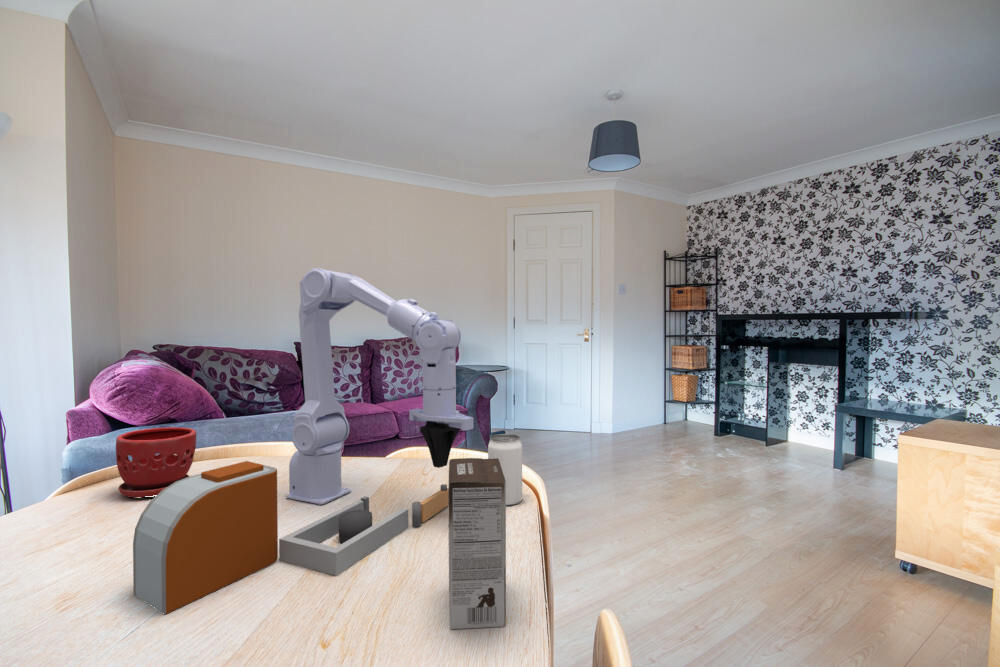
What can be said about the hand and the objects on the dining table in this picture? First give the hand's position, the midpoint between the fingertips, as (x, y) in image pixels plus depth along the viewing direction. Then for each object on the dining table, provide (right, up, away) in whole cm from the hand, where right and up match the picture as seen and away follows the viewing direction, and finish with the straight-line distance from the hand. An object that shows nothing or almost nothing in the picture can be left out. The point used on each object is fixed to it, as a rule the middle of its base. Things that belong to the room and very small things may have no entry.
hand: (440, 465), depth 81 cm
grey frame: (-12, -9, -10) cm, 18 cm away
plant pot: (-59, -9, +13) cm, 61 cm away
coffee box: (+8, -9, -26) cm, 29 cm away
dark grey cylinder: (-12, -9, -9) cm, 17 cm away
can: (+11, -9, +7) cm, 16 cm away
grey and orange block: (-28, -9, -20) cm, 35 cm away
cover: (-1, -8, 0) cm, 9 cm away
